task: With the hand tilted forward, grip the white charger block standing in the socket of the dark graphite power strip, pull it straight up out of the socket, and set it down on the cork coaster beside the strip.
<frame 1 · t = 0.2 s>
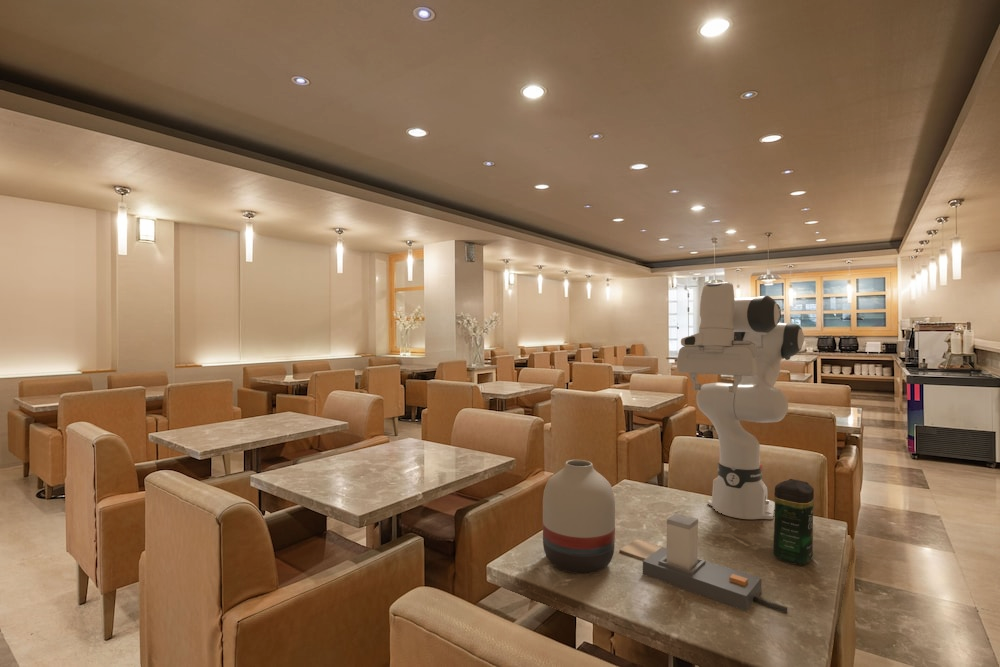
hand: (714, 391, 136), 39 cm above the table, tool pointing down, fingers open, 8 cm apart
power strip: (699, 582, 110), on the table
charger: (682, 563, 113), point 3 cm above the table, touching power strip
coffee jar: (793, 558, 123), on the table
vase: (578, 563, 120), on the table
coaster: (644, 551, 126), on the table
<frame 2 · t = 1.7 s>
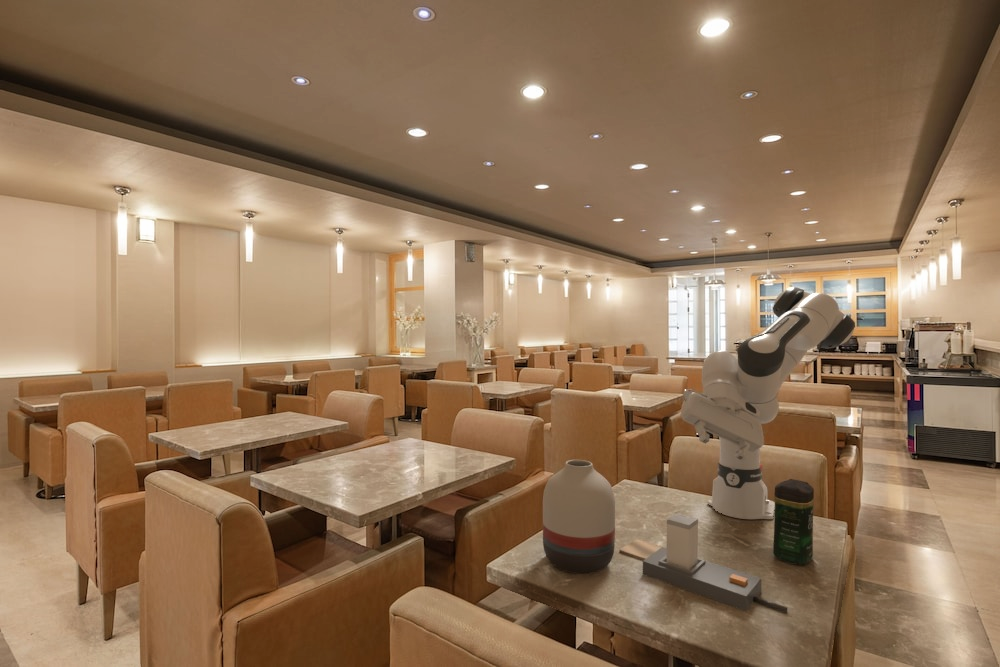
hand: (722, 449, 115), 28 cm above the table, tool tilted 50°, fingers open, 8 cm apart
nothing on the table moved.
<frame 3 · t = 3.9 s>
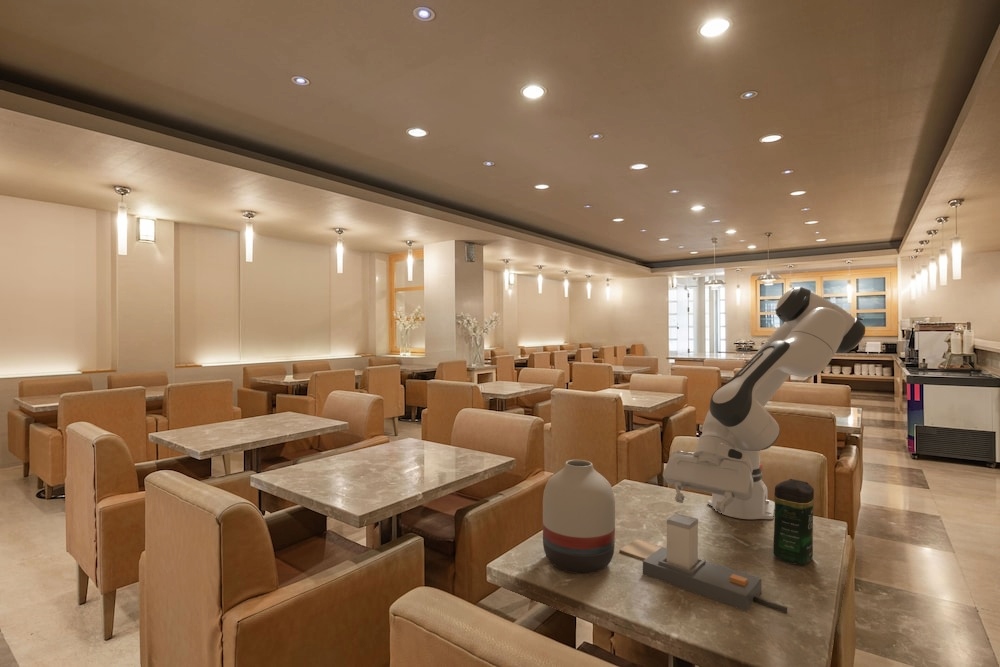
hand: (698, 506, 118), 14 cm above the table, tool tilted 45°, fingers open, 8 cm apart
nothing on the table moved.
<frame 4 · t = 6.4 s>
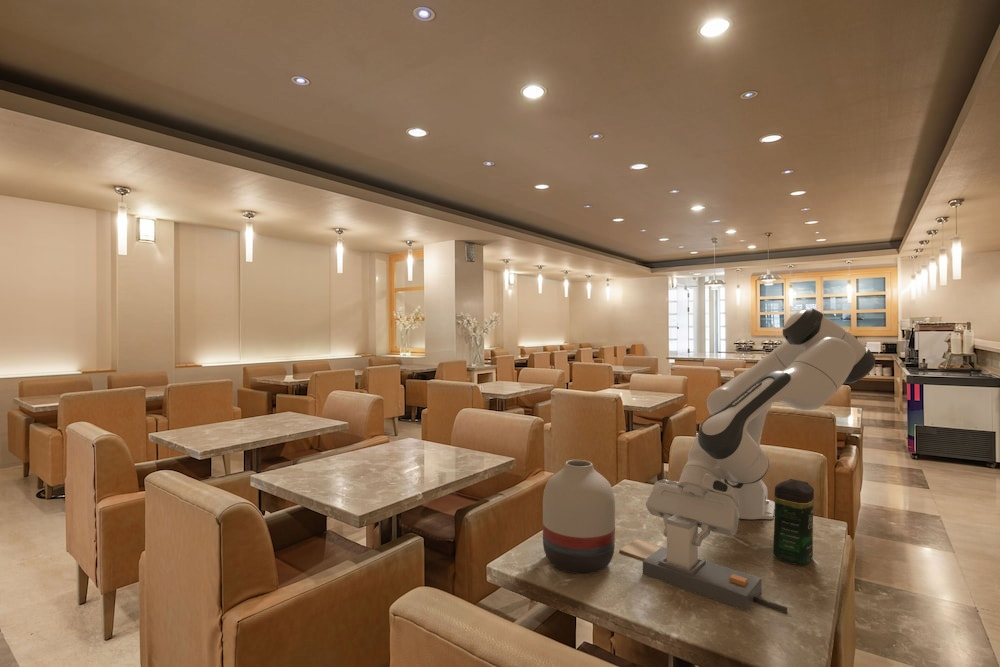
hand: (681, 540, 113), 8 cm above the table, tool tilted 45°, fingers closed on charger, 5 cm apart
charger: (682, 563, 113), point 3 cm above the table, touching gripper, power strip
everything else where it was.
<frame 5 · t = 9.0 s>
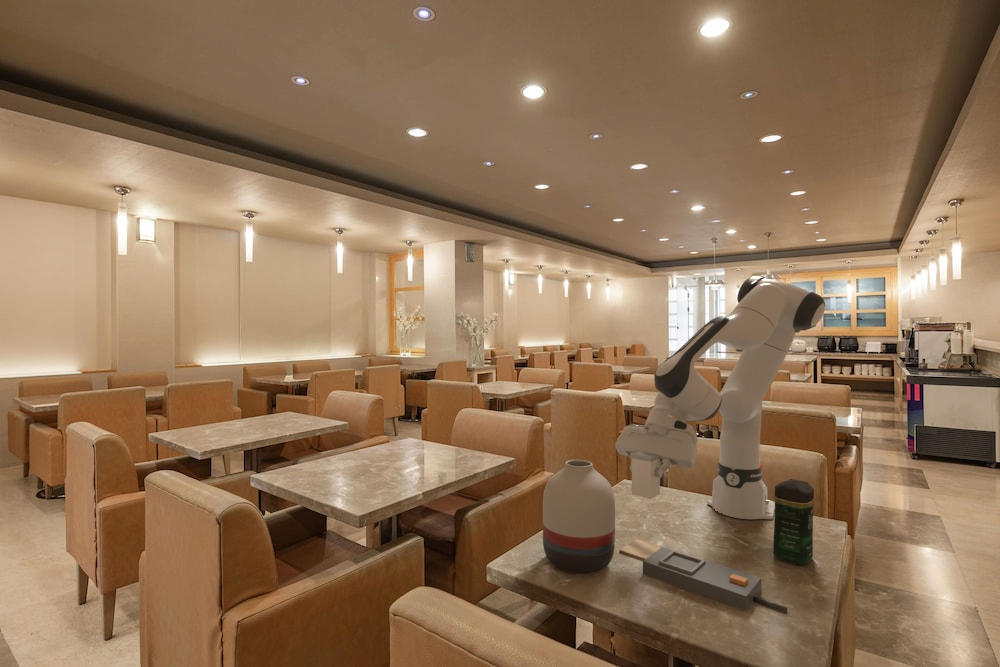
hand: (644, 473, 125), 20 cm above the table, tool tilted 45°, fingers closed on charger, 5 cm apart
charger: (645, 494, 125), point 15 cm above the table, touching gripper
everything else where it was.
when the fingers open (7 cm above the table, at t = 11.6 s): charger drops 1 cm, resting on coaster.
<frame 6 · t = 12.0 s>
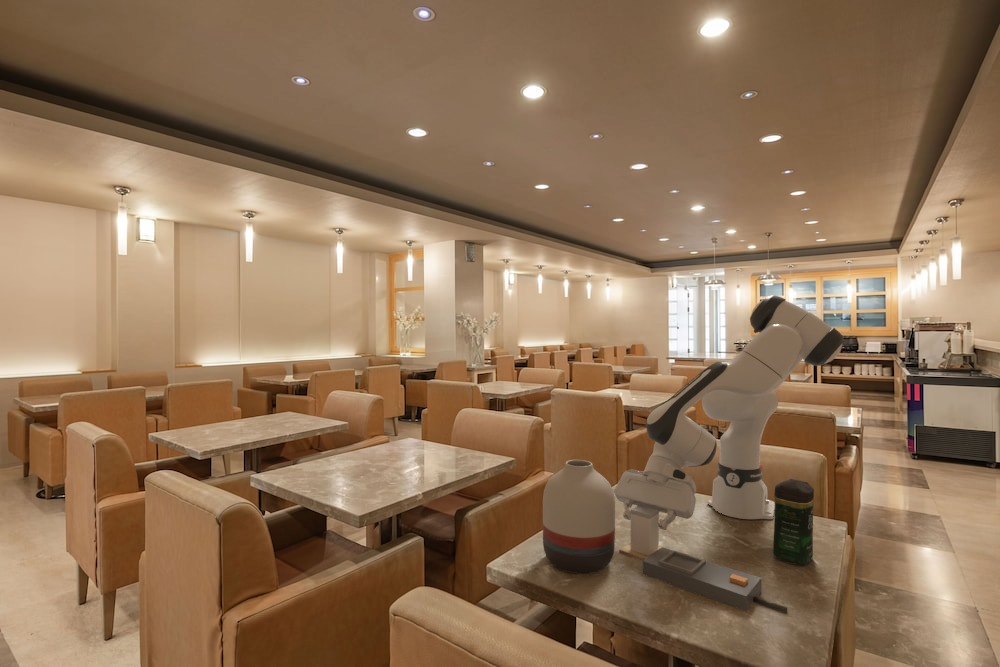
hand: (643, 523, 125), 7 cm above the table, tool tilted 45°, fingers open, 8 cm apart
charger: (644, 549, 126), point 1 cm above the table, touching coaster
everything else where it was.
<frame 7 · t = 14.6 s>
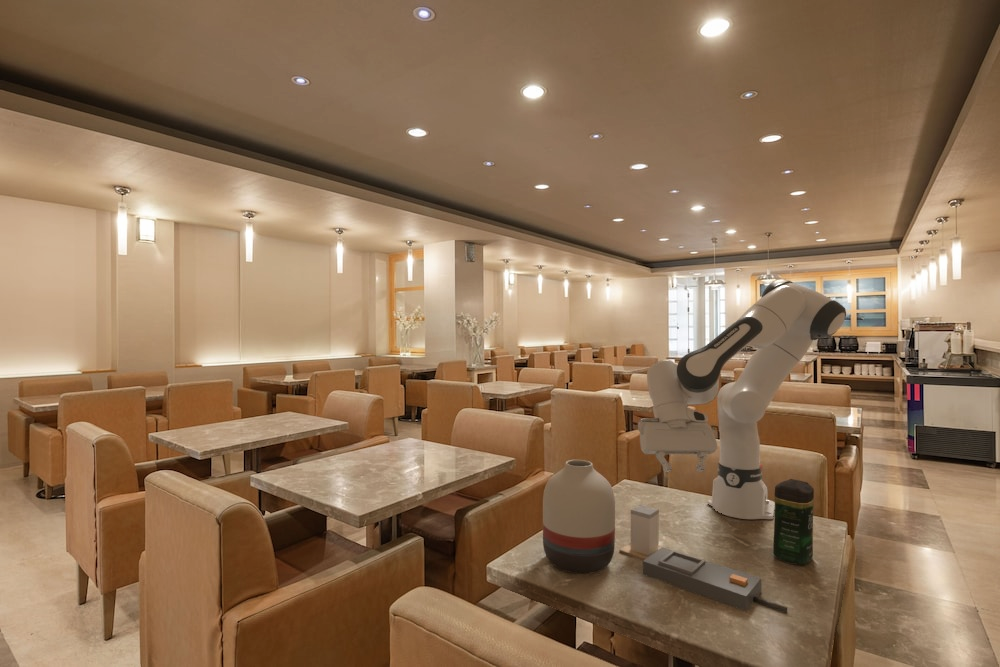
hand: (685, 470, 127), 20 cm above the table, tool tilted 30°, fingers open, 8 cm apart
nothing on the table moved.
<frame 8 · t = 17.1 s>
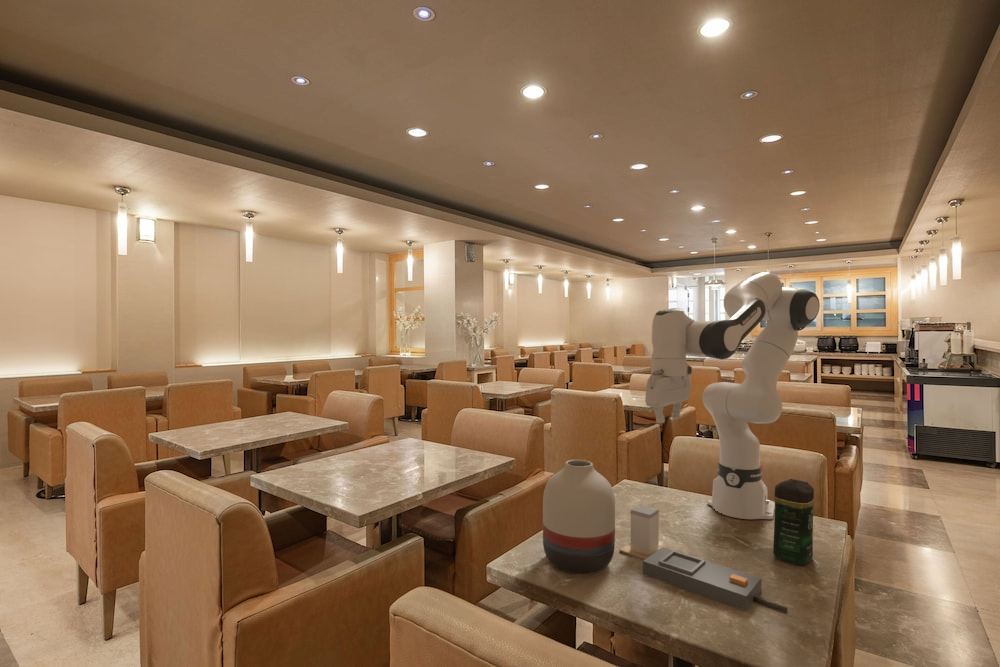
hand: (668, 420, 135), 31 cm above the table, tool pointing down, fingers open, 8 cm apart
nothing on the table moved.
at the end: charger inside the target area on the coaster (0.0 cm from its centre), point 0.6 cm above the coaster's base; charger tilted 0°; the gripper is holding nothing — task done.
